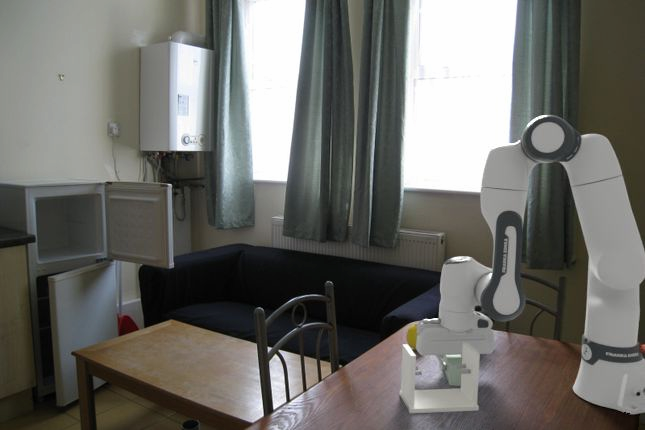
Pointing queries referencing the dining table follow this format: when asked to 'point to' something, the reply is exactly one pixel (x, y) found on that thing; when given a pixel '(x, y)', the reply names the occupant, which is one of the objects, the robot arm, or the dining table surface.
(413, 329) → the lemon
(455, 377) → the shelf board
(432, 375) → the dining table surface
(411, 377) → the shelf unit
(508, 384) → the dining table surface
